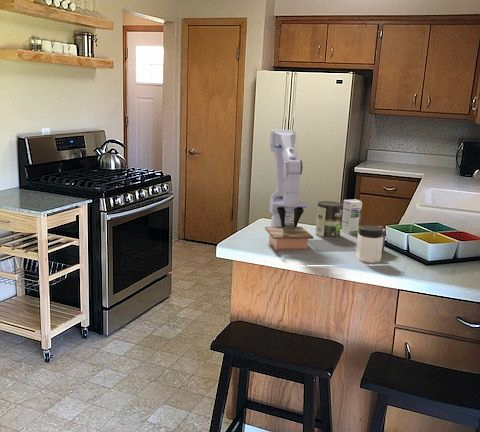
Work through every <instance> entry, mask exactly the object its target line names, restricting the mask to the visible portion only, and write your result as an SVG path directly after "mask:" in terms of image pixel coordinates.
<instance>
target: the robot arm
mask: <svg viewBox="0 0 480 432" xmlns="http://www.w3.org/2000/svg"><path fill="white" fill-rule="evenodd" d="M296 136H297V133H296V131H295V130H294V129H290V130H289V129H271V130H270V136H269V144H270V145H269V146H270V147H269V148H270V151H271V152H273V153H274V157H275V173H276V175H275V176H276V177H275V179H276V182H275V184H276V191H275V192H273V193H272V194H271V195H270V196H269V197H270V199H269V212H270V214H272V216H271V219H270V220H271V221H270V227H284V225H285V222H291V217H292V215H293V222H292V223H293V224H295V227H298V223H299V220H300V218H301V217H302V215H303V213H304V210H305V209H307V210H309V209H310V203H309V202H302V201H299V193H300V182H301V176H302V174H303V170H304V169H303V168H304V167H303V165H304V164H303V159H301V158H299V156H298V152H297V150H296V148H294V147H295V143H296V140H297V137H296Z"/></svg>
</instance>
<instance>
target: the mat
mask: <svg viewBox="0 0 480 432" xmlns="http://www.w3.org/2000/svg"><path fill="white" fill-rule="evenodd" d="M308 245H310V246H311V247H312V248H313V249H314V250H315V251H316V252H320V253H323V252H332V253H333V252H336V253H337V252H356V248H355V247H354V246H352V245H351V244H350V243H348V242H347V241H345V240H344V239H308Z"/></svg>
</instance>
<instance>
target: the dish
mask: <svg viewBox="0 0 480 432" xmlns="http://www.w3.org/2000/svg"><path fill="white" fill-rule="evenodd" d="M308 240H309V239H273V238H272V236H271V235H270V234H269V233H268V243H269V244H270V245H271V246H272V248H273V249H274V251H275V252H279V251H280V250H283V251H284V250H308V245H309V243H308Z"/></svg>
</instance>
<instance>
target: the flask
mask: <svg viewBox="0 0 480 432" xmlns="http://www.w3.org/2000/svg"><path fill="white" fill-rule="evenodd" d="M377 227H380V228H382V226H380V225H377ZM382 229H383V235H382V237H383V245H382V253H383V252H384V251H385V243H386V242H385V241H386V233H387V229H385V228H382Z"/></svg>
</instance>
